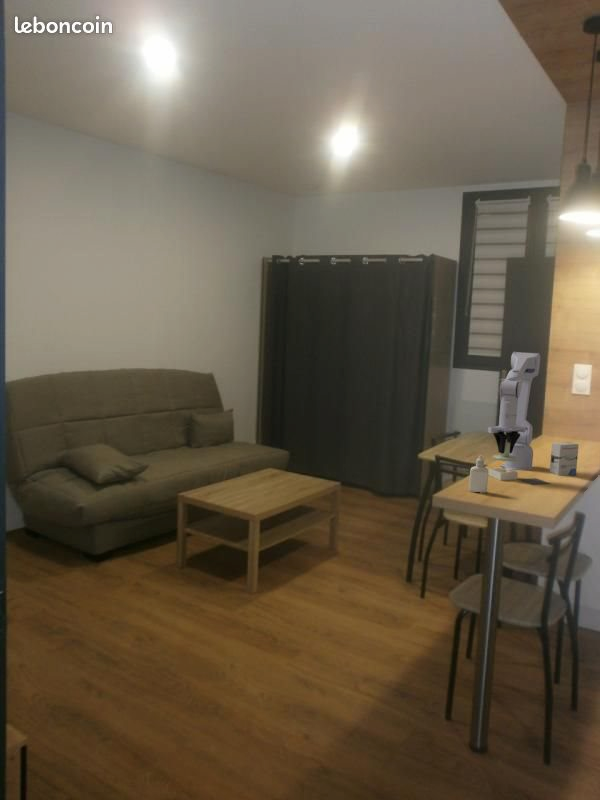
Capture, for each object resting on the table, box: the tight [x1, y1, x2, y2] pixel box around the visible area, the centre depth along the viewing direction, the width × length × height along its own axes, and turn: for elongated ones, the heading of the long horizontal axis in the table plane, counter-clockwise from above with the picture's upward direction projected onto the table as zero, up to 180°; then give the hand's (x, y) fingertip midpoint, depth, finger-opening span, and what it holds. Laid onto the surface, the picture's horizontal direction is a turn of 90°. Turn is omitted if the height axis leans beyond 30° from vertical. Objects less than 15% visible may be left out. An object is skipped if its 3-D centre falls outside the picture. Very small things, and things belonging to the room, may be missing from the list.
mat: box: [517, 477, 552, 486], centre depth 230 cm, size 8×8×1 cm
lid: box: [492, 442, 517, 462], centre depth 232 cm, size 8×8×6 cm
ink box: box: [549, 441, 580, 476], centre depth 244 cm, size 8×5×12 cm, turn 111°
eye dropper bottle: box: [468, 454, 489, 494], centre depth 214 cm, size 4×6×12 cm
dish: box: [488, 467, 519, 481], centre depth 234 cm, size 7×7×3 cm
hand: (505, 452), depth 233 cm, fingers closed on lid, 3 cm apart
